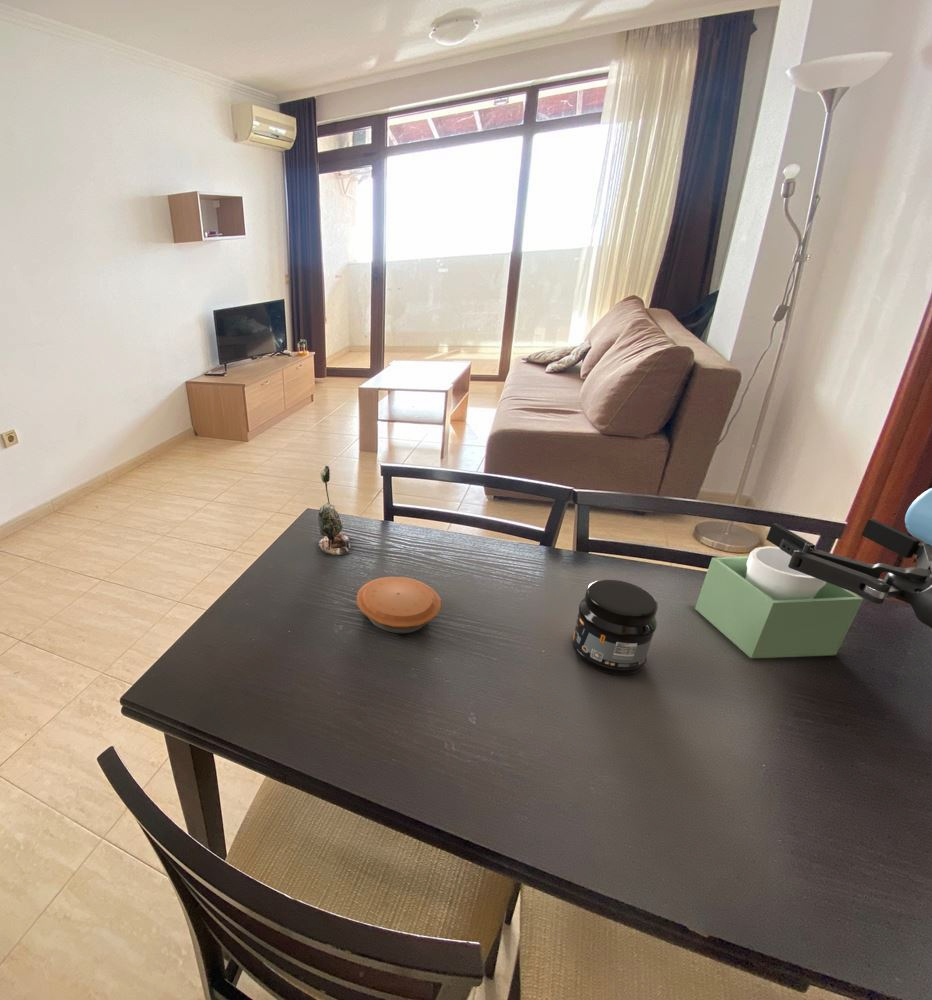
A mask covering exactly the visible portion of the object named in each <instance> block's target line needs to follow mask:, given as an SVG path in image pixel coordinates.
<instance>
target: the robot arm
mask: <svg viewBox="0 0 932 1000" xmlns="http://www.w3.org/2000/svg"><path fill="white" fill-rule="evenodd" d="M904 523H905V528H906V530H907V532H908V533H909V534H910V535H911V536H910V535H909V534H906V533H904V532H902V531H900V530H898V529H896V528H894V527H892V526H889V525H887V524H885V523H884V522H881V521H879V520H876V518H875V519H874V518H868V519H867V521H866V523H865V525H864V528H863V530H862V532H861V534H860V536H861V537H863V538H866V539H868V540H870V541H872V542H874V543H875V544H878V545H879V546H881V547H884V548H886V549H887V550H890V551H892V552H893V553H895V554H897V555H899V556H901V557H903V558H905V559H912V558H913V557H914V555H915V557H914V559H913V561H912V563H913V564H914V563H915V564H916V566H909V567H900V566H894V565H890V564H887V563H882V562H878V563H876V564H874V563H873V564H872V563H869V562H865V561H862V560H858V559H855V558H854V559H853V558H850V557H846V556H843V555H839V554H835V553H831V552H829V551H823V550H821V549H816V544H814V543H813V542H810V541H808V540H806V538H804V537H802V536H800V535H798V534H796V533H795V532H793V531H791V530H789V529H787V528H786V527H784V526H783V525H780V524H779V523H771V525H770V527H769V529H768V530H769V531H768V533H767V535H766V539H765V540H766V541H768V542H770V543H771V544H773V545H774V546H775V547H779V548H780V549H781V550H782V551H784V552H786V553H787V554H789V555H790V556H792V557H791V560H790V562H789V565H788V567H789V568H791V569H794V570H796V571H799V572H802V573H804V574H807V575H809V576H812V577H815V578H817V579H820V580H822V581H825V582H828V583H830V584H833V585H836V586H838V587H841V588H843V589H846V590H849V591H851V592H853V593H855V594H856V595H858V596H859V597H861V598H863V599H866V600H868V601H869V602H871V603H874V604H877V605H882V604H884V602H885V599H887V598H894V599H896V600H898V601H901V602H904V603H906V604H909V605H910V607H911V608H912V610H913V612H914V614H915V617H916V619H917V620H918V621H919V622H921V623H922V624H924V625H925V626H927V627H929V628H931V629H932V487H931V488H928V489H927V490H925V491H924V492H922V493H921V494H920V495H918V496H917V497H916V499H914V500H913V501H912V503H910V505H909V507H908V509H907V511H906V513H905V516H904ZM882 573H886V575H885V576H884V579H883V578H880V577H881V575H882Z"/></svg>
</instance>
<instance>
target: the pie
mask: <svg viewBox="0 0 932 1000" xmlns="http://www.w3.org/2000/svg"><path fill="white" fill-rule="evenodd" d="M356 603H357V607H358V608H359V609H360V611H361V613H362V614H363V615H365V616H366V617H367V618H368V619H369V621H370V622H371V623H372V624H373V625H374V626H376V627H377V628H378V629H381V630H383V631H385V632H389V633H393V634H409V633H414V632H417V631H419V630H421V629H422V628H423V627H425V626H426V625H427V624H428V623H429V622H430V621H432V620H433V619H435V618H437V617H438V614H439V612H440V610H441V606H442V599H441V598H440V596H439V594H438V593H437V592H436V591H435V590H434V589H433V588H432V587H431V586H429V585H427V584H426V583H424V582H422V581H419V580H417V579H415V578H411V577H404V576H386V577H379V578H376V579H373V580H370V581H368V582H367V583H366V584H365V583H364V585H362V587H360V589H359V590H358V591H357V595H356Z"/></svg>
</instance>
